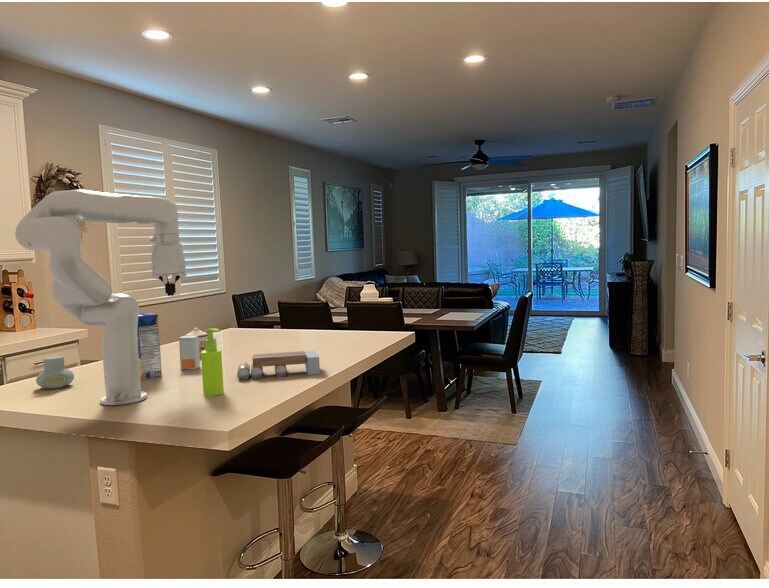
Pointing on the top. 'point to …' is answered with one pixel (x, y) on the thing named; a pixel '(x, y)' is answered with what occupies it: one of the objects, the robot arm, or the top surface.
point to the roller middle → (256, 372)
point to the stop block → (312, 363)
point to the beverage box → (148, 346)
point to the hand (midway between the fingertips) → (170, 295)
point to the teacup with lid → (201, 336)
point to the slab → (279, 359)
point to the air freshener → (54, 374)
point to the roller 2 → (281, 370)
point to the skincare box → (189, 352)
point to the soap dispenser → (212, 366)
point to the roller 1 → (243, 371)
